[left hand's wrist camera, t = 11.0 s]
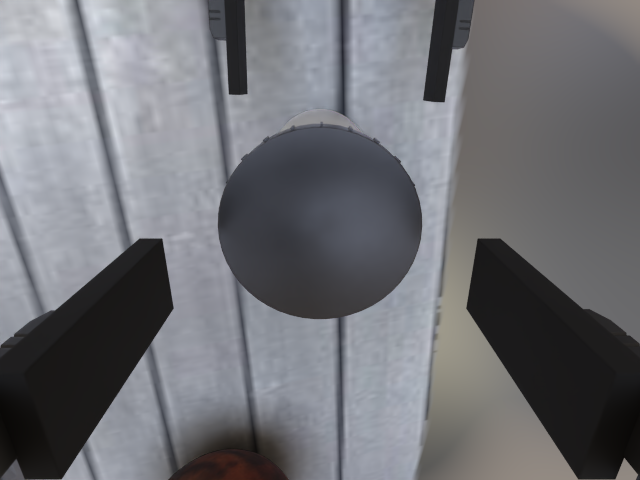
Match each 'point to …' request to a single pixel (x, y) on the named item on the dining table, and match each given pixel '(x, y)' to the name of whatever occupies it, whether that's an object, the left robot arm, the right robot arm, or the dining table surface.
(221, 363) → the dining table surface
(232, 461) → the cat face balloon
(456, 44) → the right robot arm
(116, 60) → the dining table surface
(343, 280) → the lid
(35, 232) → the dining table surface
